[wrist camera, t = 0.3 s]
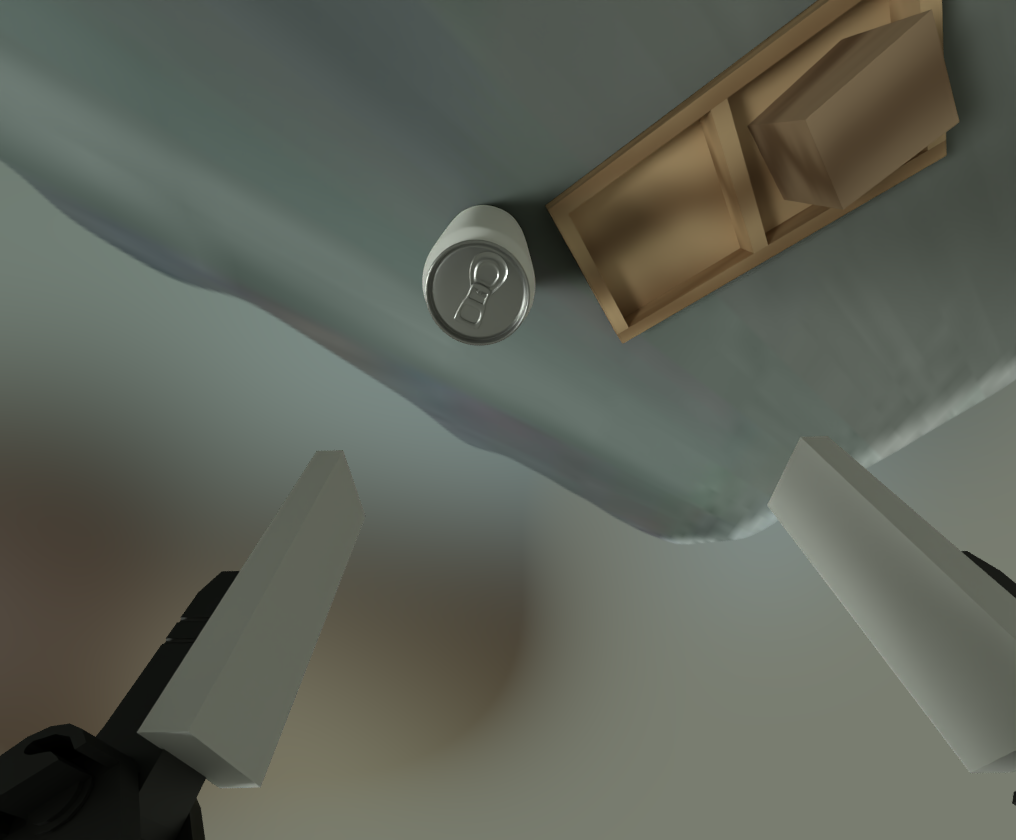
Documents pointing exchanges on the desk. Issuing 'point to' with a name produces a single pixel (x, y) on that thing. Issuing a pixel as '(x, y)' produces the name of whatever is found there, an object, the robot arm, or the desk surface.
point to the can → (480, 277)
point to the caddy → (711, 179)
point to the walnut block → (858, 113)
